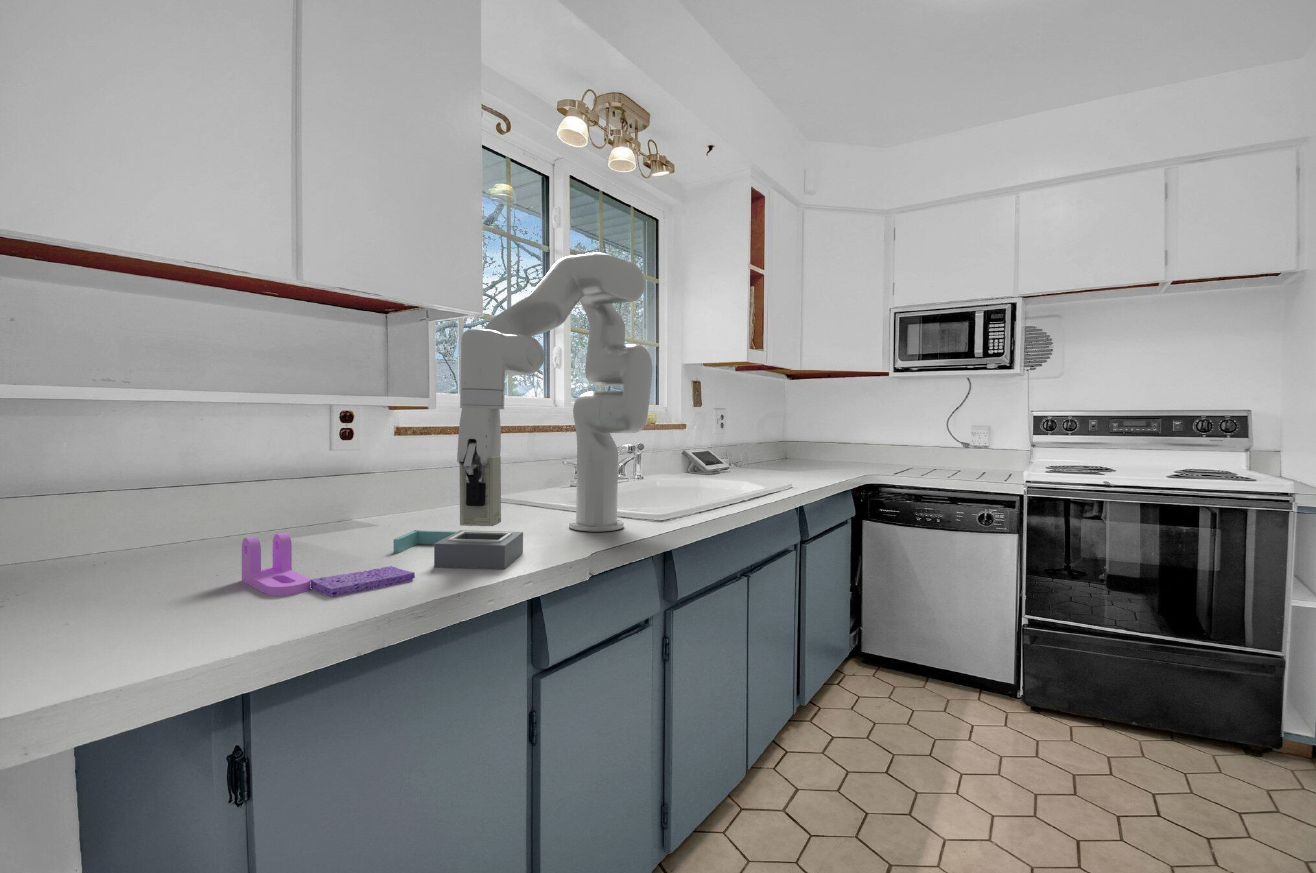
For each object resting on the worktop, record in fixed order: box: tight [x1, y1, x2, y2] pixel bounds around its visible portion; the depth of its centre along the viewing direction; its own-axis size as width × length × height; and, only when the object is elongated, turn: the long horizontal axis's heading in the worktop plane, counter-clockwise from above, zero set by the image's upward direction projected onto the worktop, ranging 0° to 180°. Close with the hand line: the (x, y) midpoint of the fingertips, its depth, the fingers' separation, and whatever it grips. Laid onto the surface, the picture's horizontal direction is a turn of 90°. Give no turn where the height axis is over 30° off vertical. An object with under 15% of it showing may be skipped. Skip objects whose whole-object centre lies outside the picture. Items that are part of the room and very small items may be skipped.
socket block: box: [433, 529, 524, 570], centre depth 109 cm, size 12×12×4 cm
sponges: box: [310, 565, 416, 598], centre depth 92 cm, size 7×13×2 cm, turn 141°
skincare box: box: [459, 455, 502, 527], centre depth 108 cm, size 6×4×12 cm
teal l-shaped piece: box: [393, 529, 459, 554], centre depth 117 cm, size 9×11×2 cm
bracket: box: [241, 532, 311, 597], centre depth 91 cm, size 13×6×7 cm, turn 51°
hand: (480, 502), depth 108 cm, fingers closed on skincare box, 4 cm apart
